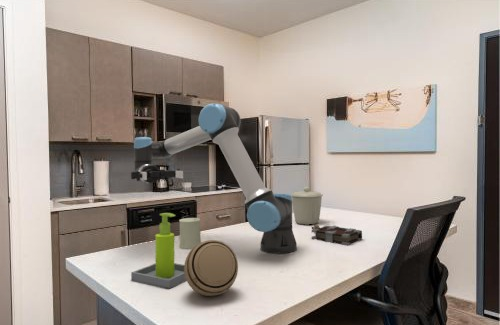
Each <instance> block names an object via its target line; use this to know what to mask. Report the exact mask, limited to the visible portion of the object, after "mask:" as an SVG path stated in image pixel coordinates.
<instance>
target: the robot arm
mask: <svg viewBox="0 0 500 325" xmlns="http://www.w3.org/2000/svg"><path fill="white" fill-rule="evenodd" d="M241 122H242V121H241V116H240V114H239V112H238V111H237V110H235V109H234V108H232V107H229V106H226V105H223V104H221V103H209V104H206V105H204V107H203V108H202V109H201V110H200V113H199V116H198V126H196V127H194V128H191V129H189V130H187V131H186V130H185V131H184V132H182V133H179V134H177V135H173V136H172V137H169V138H167V139H165V140H163V141H160V142H156V141H155V142H154V141H153V140H152V138H151V137H148V136H142V137H141V136H139V137H138V136H137V137H135V138H134V140H133V158H134V162H133V165H134V167H133V168H132V172H131V173H130V178H131V180H135V179H136V181H137V182H145V183H146V184H153V183H156V182H157V181H158V180H160V179H165V178H175V179H184V175H185V174H184V172H185V171H184V170H181V169H180V168H177V170H170V169H169V170H168V169H160V168H159V167H158V166H156V165H155V164H153V159H161V160H164V159H170V158H171V157H172V155H174V154H177V153H179V152H182V151H185V150H188V149H190V148H192V147H195V146H197V145H200V144H203V143H205V142H208V141H210V140H211V141H212V143H213V144H216V145H218V146H219V149H220V151H221V152H222V154H223V155H224V158H225V160H226V162H227V164H228V166H229V167H230V171H231V172H232V174H233V176H234V178H235V180H236V181H237V183H238V185H239V187H240V190H241V191H242V193H243V195H244V197H245V200H244V205H245V206H244V207H245V208H246V210H247V212H246V219H247V222H248V224H249V225H250V226H251V227H252V228H253V229H254V230H256V231H258V232H261V233H262V237H261V240H260V244H259V245H260V246H259V247H260V250H261V251H263V252H266V253H270V254H286V253H287V254H288V253H293V252H295V251H296V250H297V249H298V248H297V246H298V243H297V241H296V238H295V234H294V232H293V202H292V196H291V194H289V193H277V192H273V191H272V189H270V188H267V187H266V186H265V184H264V182H263V180H262V178H261V176H260V174H259V172H258V170H257V169H256V167H255V165H254V162H253V161H252V159H251V158H250V156H249V154H248V151H247V150H246V148H245V145H244V144H243V142H242V140H241V139H240V137H239V132H240V127H241Z"/></svg>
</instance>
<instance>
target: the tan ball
mask: <svg viewBox="0 0 500 325" xmlns="http://www.w3.org/2000/svg"><path fill="white" fill-rule="evenodd" d="M183 265H184V273H185V278H186V282H187V284H188V286H189V287H190V288H191V289H192V290H193V291H194V292H196V293H198V294H199V295H202V296H205V297H214V296H215V297H216V296H219V295H221V294H224V293H225V292H227V291H228V290H229V289H230V288H231V287H232V286H233V285H234V284H235V281H236V279H237V276H238V271H239V262H238V258H237V256H236V253H235V251H233V248H231V247H230V246H229V245H228V244H227V243H226V242H223V241H220V240H217V239H216V240H215V239H209V240H207V239H206V240H203V241H201V243H199V244H197V245H196V246H195V247H193V248H192V249H190V251H189V252H188V253H187V256H186V258H185V260H184V264H183Z"/></svg>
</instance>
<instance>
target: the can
mask: <svg viewBox="0 0 500 325" xmlns="http://www.w3.org/2000/svg"><path fill="white" fill-rule="evenodd" d="M178 221H179V248H181V249H185V250H189V249H190V250H191V249H192V248H193V247H195V246H196V245H197V244H199V243H201V242H202V240H201V233H202V232H201V218H200V217H185V218H181V219H179V220H178Z"/></svg>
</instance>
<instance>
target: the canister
mask: <svg viewBox="0 0 500 325" xmlns="http://www.w3.org/2000/svg"><path fill="white" fill-rule="evenodd" d="M290 195H291V196H292V211H293V216H294V220H295V222H296V223H297V224H298V225H302V224H305V225H304V226H308V225H309V224H313V225H317V224H318V223H319V221H320V216H321V210H322V197H323V195H324V194H322V193H321V192H318V191H311V190H310V187H309V186H304V187H303V190H302V191H301V190H300V191H295V192H292V193H291V194H290ZM316 223H317V224H316ZM309 226H310V225H309Z"/></svg>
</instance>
